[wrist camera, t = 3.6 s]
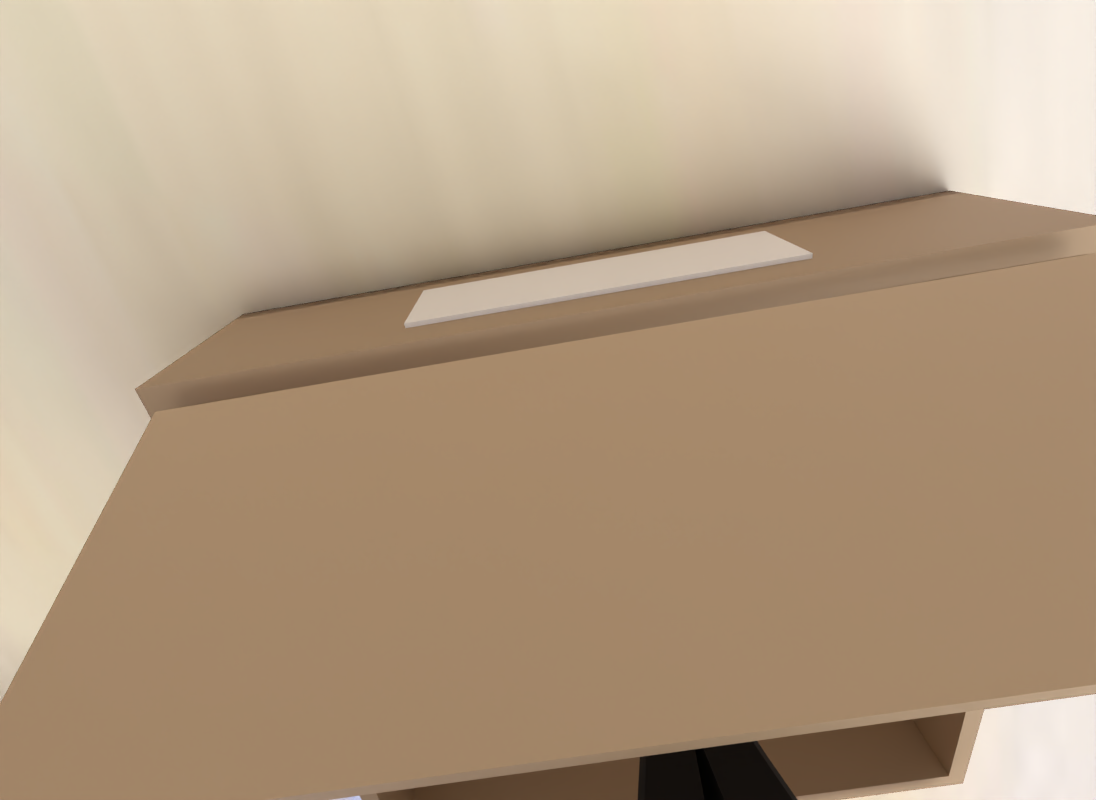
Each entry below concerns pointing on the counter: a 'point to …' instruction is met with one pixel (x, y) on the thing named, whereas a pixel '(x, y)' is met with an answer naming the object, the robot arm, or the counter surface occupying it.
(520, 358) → the flap
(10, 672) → the counter surface
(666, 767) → the robot arm
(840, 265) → the carton
